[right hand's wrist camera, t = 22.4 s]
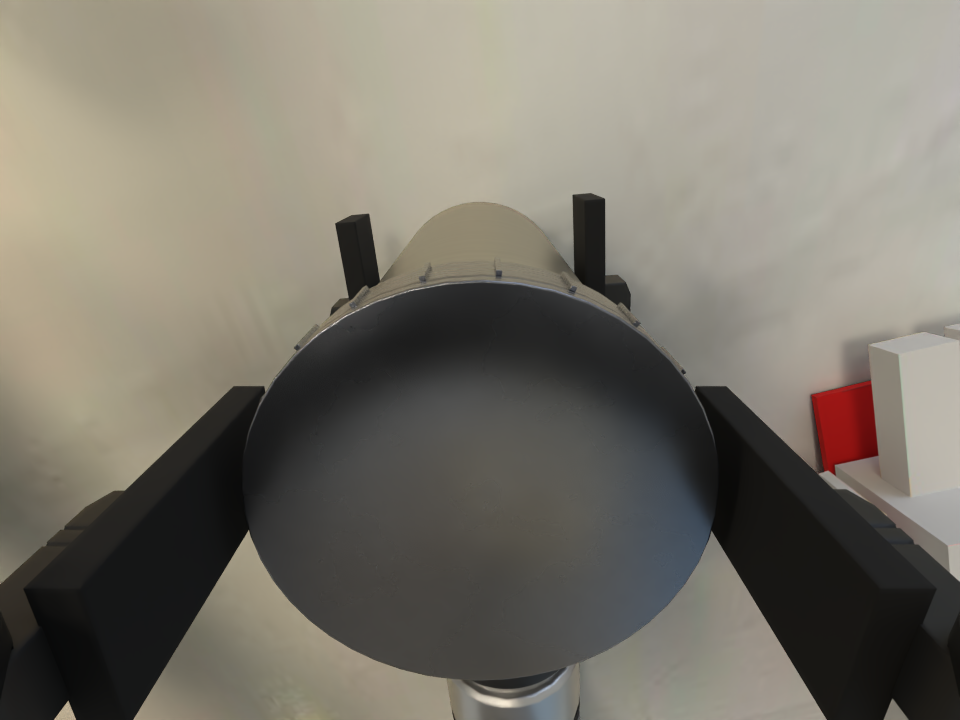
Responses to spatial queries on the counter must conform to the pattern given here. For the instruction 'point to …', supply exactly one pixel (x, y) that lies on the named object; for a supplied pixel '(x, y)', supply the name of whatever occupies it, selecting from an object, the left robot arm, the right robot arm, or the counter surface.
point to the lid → (480, 473)
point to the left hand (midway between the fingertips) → (469, 207)
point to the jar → (479, 240)
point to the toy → (902, 442)
